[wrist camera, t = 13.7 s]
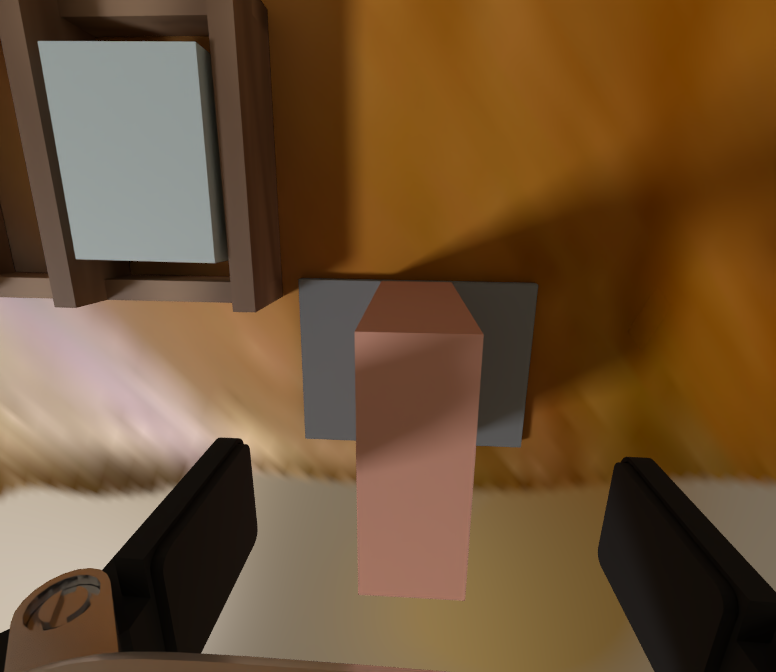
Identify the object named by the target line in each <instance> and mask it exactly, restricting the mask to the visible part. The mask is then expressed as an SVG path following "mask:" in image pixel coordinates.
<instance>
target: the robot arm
mask: <svg viewBox="0 0 776 672" xmlns="http://www.w3.org/2000/svg"><path fill="white" fill-rule="evenodd" d="M256 537H257V518H256V508H255V497H254V488H253V477H252V467H251V457H250V448H249V446H248V445H247V444H243V441H242V439H239V438H218V439H216V440H215V442H214V443H213V444H212V445H211V446H210V447H209V448H208V450H207V451H206V452H205V453H204V454H203V455H202V457H201V458H200V459H199V460H198V461H197V462H196V463H195V465H194V466H193V467H192V468H191V469H190V470H189V471H188V473H187V474H186V475H185V476H184V477H183V478H182V479H181V481H180V482H179V483H178V484H177V485H176V486H175V487H174V489H173V490H172V491H171V492H170V493H169V494H168V495H167V496H166V498H165V499H164V500H163V501H162V502H161V503H160V504H159V506H158V507H157V508H156V509H155V510H154V511H153V513H152V514H151V515H150V516H149V517H148V518H147V519H146V520H145V522H144V523H143V524H142V525H141V526H140V527H139V528H138V530H137V531H136V532H135V533H134V534H133V535H132V537H131V538H130V539H129V540H128V541H127V542H126V543H125V545H124V546H123V547H122V548H121V549H120V551H118V553H117V554H116V555H115V556H114V557H113V558H112V559H111V561H110V562H109V563H108V564H107V565H106V566H105V567H104V569H103V570H99V569H93V568H87V569H78V570H74V571H71V572H68V573H65V574H62V575H60V576H58V577H56V578H54V579H52V580H49V581H48V582H46V583H45V584H43V585H42V586H40V587H39V588H37V589H36V590H34V591H33V592H32V593H31V594H30V595H29V596H28V597H27V598H26V599H25V600H23V602H22V603H21V605H20V606H19V607H18V608H17V610H16V611H15V613H14V615H13V618H12V621H11V625H10V629H8V630H6V631H4V632H2V633H0V672H445V671H433V670H421V669H407V668H396V667H383V666H371V665H358V664H357V665H356V664H344V663H331V662H318V661H303V660H290V659H277V658H264V657H250V656H233V655H217V654H201V652H202V650H203V648H204V646H205V644H206V642H207V640H208V638H209V636H210V634H211V632H212V630H213V627H214V625H215V624H216V622H217V620H218V618H219V615H220V613H221V611H222V609H223V607H224V605H225V603H226V601H227V599H228V597H229V595H230V593H231V591H232V589H233V587H234V585H235V583H236V581H237V578H238V577H239V575H240V572H241V570H242V568H243V566H244V564H245V562H246V560H247V558H248V556H249V554H250V552H251V550H252V548H253V546H254V543H255V541H256ZM598 558H599V562H600V565H601V567H602V569H603V571H604V573H605V575H606V577H607V579H608V581H609V583H610V585H611V587H612V589H613V591H614V593H615V594H616V597H617V599H618V601H619V603H620V605H621V606H622V608H623V611H624V612H625V615H626V616H627V618H628V620H629V622H630V624H631V626H632V628H633V630H634V632H635V634H636V636H637V638H638V640H639V642H640V644H641V646H642V648H643V650H644V652H645V654H646V656H647V658H648V660H649V661H650V664H651V666H652V668H653V670H654V671H655V672H776V592H775V591H774V590H773V589H772V588H771V586H769V584H768V583H767V582H766V581H765V580H764V579H763V578H762V577H761V576H760V575H759V574H758V572H757V571H756V570H755V569H754V568H753V567H752V566H751V565H750V564H749V563H748V562H747V561H746V560H745V558H744V557H743V556H742V555H741V554H740V553H739V552H738V551H737V550H736V549H735V548H734V547H733V546H732V544H730V542H729V541H728V540H727V539H726V538H725V537H724V536H723V535H722V534H721V533H720V532H719V530H718V529H717V528H716V527H715V526H714V525H713V524H712V523H711V522H710V521H709V520H708V519H707V517H706V516H705V515H704V514H703V513H702V512H701V511H700V510H699V509H698V508H697V507H696V506H695V505H694V503H693V502H692V501H691V500H690V499H689V498H688V497H687V496H686V495H685V494H684V493H683V492H682V491H681V489H680V488H679V487H678V486H677V485H676V484H675V483H674V482H673V481H672V480H671V479H670V478H669V477H668V475H667V474H666V473H665V472H664V471H663V470H662V469H661V468H660V467H659V466H658V465H657V464H656V463H655V461H653V460H652V459H650V458H638V457H625V458H623V459H622V461H621V463H616V464H615V466H614V470H613V475H612V480H611V485H610V490H609V496H608V501H607V506H606V511H605V516H604V521H603V526H602V531H601V536H600V542H599V547H598Z"/></svg>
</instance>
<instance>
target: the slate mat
mask: <svg viewBox="0 0 776 672" xmlns="http://www.w3.org/2000/svg"><path fill="white" fill-rule="evenodd" d="M381 281H409V282H452V284H453V286H454V287H455V289H456V290H457V292H458V294H459V295H460V297H461V299H462V300H463V302H464V303H465V305H466V307H467V308H468V310H469V312H470V313H471V315H472V316H473V318H474V320H475V321H476V323H477V324H478V326H479V328H480V329H481V331H482V333H483V334H484V338H483V352H482V366H481V380H480V394H479V409H478V423H477V437H476V445H477V446H501V447H521V439H522V430H523V421H524V412H525V403H526V393H527V384H528V375H529V366H530V356H531V347H532V338H533V329H534V320H535V310H536V301H537V292H538V284H536V283H520V282H472V281H424V280H375V279H327V278H301V279H299V302H300V324H301V347H302V370H303V392H304V415H305V438H307V439H332V440H356V400H355V330H356V328H357V326H358V324H359V322H360V320H361V319H362V317H363V315H364V313H365V311H366V309H367V307H368V305H369V303H370V302H371V300H372V298H373V296H374V294H375V292H376V290H377V288H378V287H379V285H380V283H381Z"/></svg>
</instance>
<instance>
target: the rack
mask: <svg viewBox="0 0 776 672" xmlns="http://www.w3.org/2000/svg"><path fill="white" fill-rule="evenodd" d="M144 36H209V42H210V53H211V65H212V76H213V87H214V99H215V110H216V122H217V133H218V145H219V156H220V168H221V179H222V190H223V202H224V213H225V225H226V236H227V248H228V259H229V270H230V276H182V275H134V274H131V273H130V266H129V261H120V260H85V259H76V257H75V252H74V246H73V240H72V235H71V229H70V223H69V218H68V212H67V206H66V201H65V195H64V189H63V184H62V178H61V172H60V166H59V161H58V155H57V149H56V144H55V138H54V132H53V127H52V121H51V115H50V110H49V104H48V98H47V93H46V87H45V81H44V75H43V70H42V64H41V58H40V53H39V47H38V41H96V40H95V37H144ZM0 39H1V44H2V49H3V53H4V58H5V63H6V68H7V73H8V78H9V83H10V88H11V93H12V98H13V103H14V108H15V113H16V118H17V123H18V128H19V132H20V137H21V142H22V147H23V152H24V157H25V162H26V167H27V172H28V177H29V182H30V187H31V192H32V197H33V202H34V207H35V211H36V216H37V221H38V226H39V231H40V236H41V241H42V246H43V251H44V256H45V261H46V266H47V271H48V273H37V272H15V269H14V265H13V260H12V256H11V251H10V247H9V243H8V238H7V234H6V229H5V225H4V220H3V216H2V211H1V207H0V297H17V298H53V300H54V305H55V307H66V308H77V307H81V306H85V305H89V304H93V303H97V302H100V301H104V300H142V301H183V302H225V303H232V305H233V312H257V311H259V310H260V309H262V308H264V307H265V306H267V305H269V304H271V303H272V302H274V301H276V300H278V299H279V298H281V297H283V291H282V272H281V254H280V236H279V218H278V199H277V181H276V163H275V144H274V126H273V108H272V90H271V71H270V53H269V35H268V16H267V9H266V7H265V6H264V4H263V3H262V1H261V0H0Z"/></svg>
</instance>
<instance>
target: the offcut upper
mask: <svg viewBox="0 0 776 672" xmlns="http://www.w3.org/2000/svg"><path fill="white" fill-rule="evenodd" d="M38 47H39V53H40V58H41V64H42V70H43V75H44V81H45V87H46V93H47V98H48V104H49V110H50V115H51V121H52V127H53V132H54V138H55V144H56V149H57V155H58V161H59V166H60V172H61V178H62V184H63V189H64V195H65V201H66V206H67V212H68V218H69V223H70V229H71V235H72V240H73V246H74V252H75V257H76V259H85V260H120V261H155V262H190V263H218V262H223V261H227V260H229V259H228V248H227V236H226V225H225V213H224V202H223V190H222V179H221V168H220V156H219V145H218V133H217V122H216V110H215V99H214V87H213V76H212V65H211V54H210V53H209V52H208V51H206V50H205V49H204V48H203V47H201V46H200V45H199V44H198V43H197V42H181V41H38Z"/></svg>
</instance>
